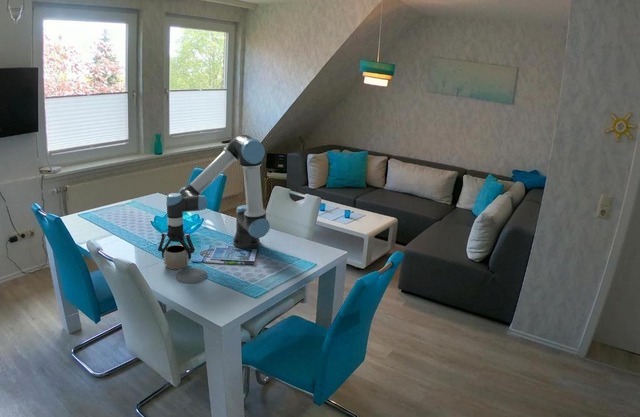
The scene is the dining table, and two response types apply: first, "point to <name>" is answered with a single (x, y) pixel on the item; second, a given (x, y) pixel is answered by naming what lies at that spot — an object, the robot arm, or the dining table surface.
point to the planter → (176, 257)
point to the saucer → (191, 275)
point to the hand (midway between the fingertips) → (177, 263)
